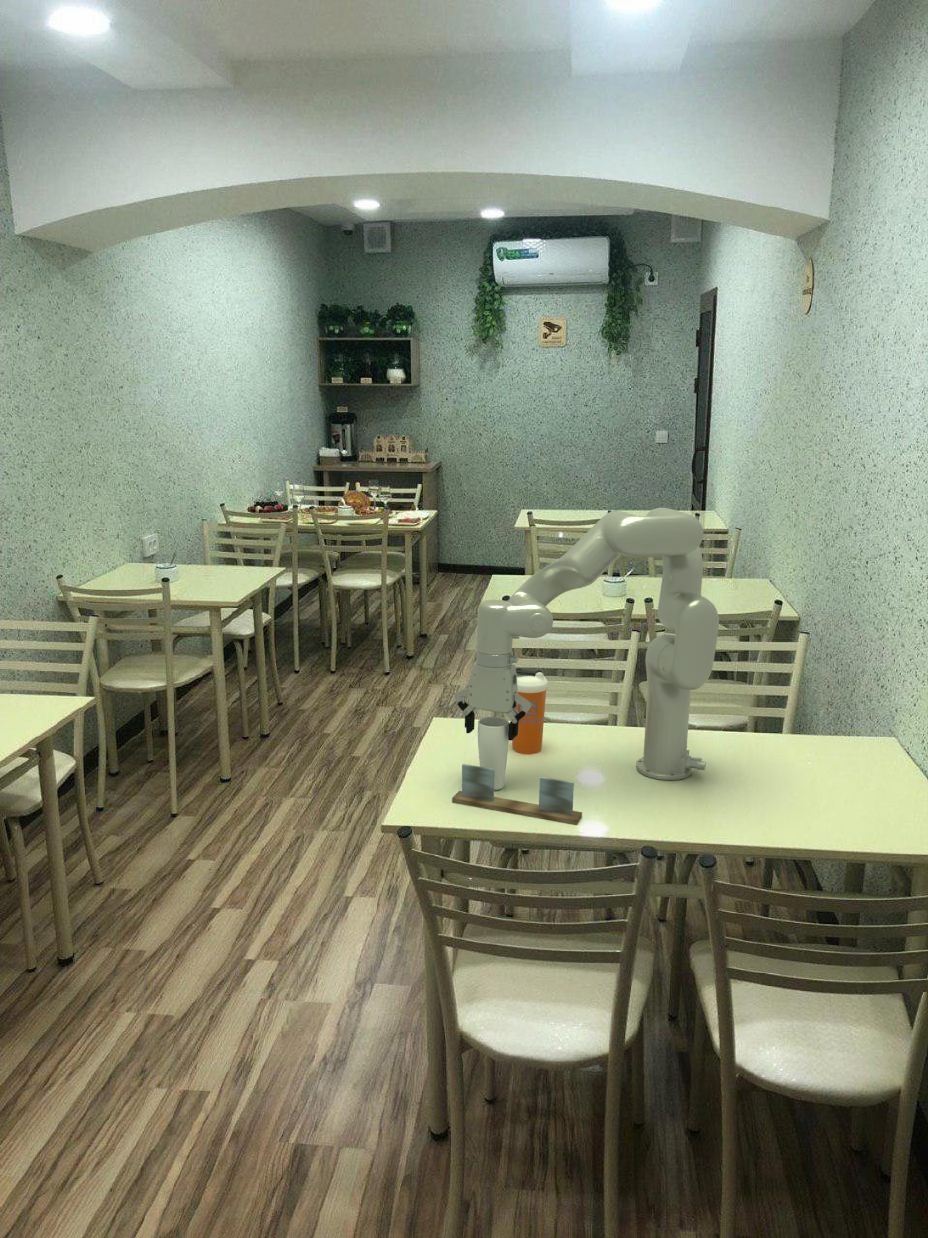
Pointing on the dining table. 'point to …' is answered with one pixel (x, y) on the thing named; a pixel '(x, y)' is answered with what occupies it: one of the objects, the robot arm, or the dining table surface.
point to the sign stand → (551, 801)
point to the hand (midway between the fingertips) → (490, 735)
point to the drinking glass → (494, 747)
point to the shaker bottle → (530, 710)
